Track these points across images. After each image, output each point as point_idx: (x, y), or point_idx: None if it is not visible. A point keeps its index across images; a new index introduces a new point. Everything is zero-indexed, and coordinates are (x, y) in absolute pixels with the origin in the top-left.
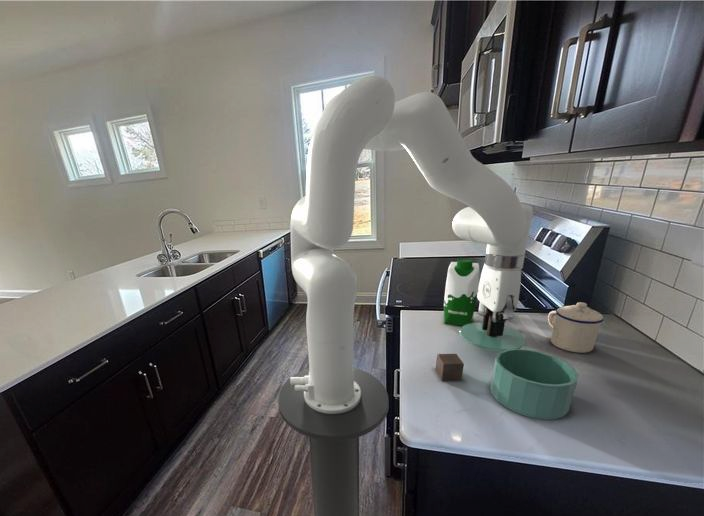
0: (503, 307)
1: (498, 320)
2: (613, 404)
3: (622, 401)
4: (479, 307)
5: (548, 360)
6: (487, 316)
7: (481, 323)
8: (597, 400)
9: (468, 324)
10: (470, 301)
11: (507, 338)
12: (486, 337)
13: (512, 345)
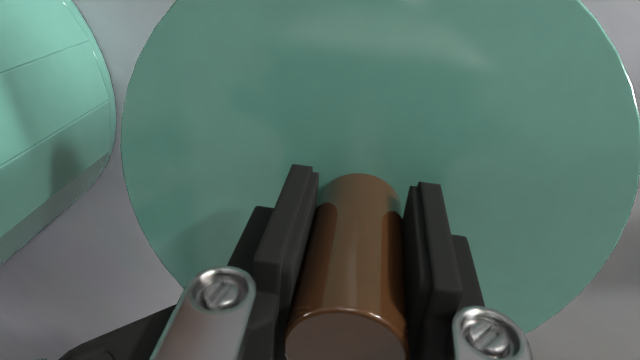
0: None
1: (157, 316)
2: (11, 306)
3: (35, 334)
4: None
5: None
6: (419, 304)
7: (583, 252)
8: (21, 285)
9: (627, 137)
10: None
11: None
12: (318, 143)
13: (180, 235)
